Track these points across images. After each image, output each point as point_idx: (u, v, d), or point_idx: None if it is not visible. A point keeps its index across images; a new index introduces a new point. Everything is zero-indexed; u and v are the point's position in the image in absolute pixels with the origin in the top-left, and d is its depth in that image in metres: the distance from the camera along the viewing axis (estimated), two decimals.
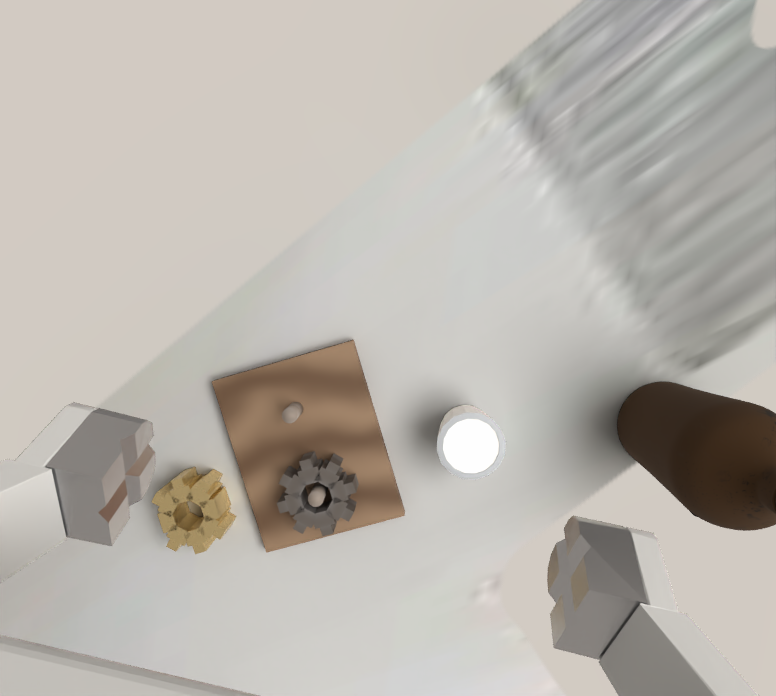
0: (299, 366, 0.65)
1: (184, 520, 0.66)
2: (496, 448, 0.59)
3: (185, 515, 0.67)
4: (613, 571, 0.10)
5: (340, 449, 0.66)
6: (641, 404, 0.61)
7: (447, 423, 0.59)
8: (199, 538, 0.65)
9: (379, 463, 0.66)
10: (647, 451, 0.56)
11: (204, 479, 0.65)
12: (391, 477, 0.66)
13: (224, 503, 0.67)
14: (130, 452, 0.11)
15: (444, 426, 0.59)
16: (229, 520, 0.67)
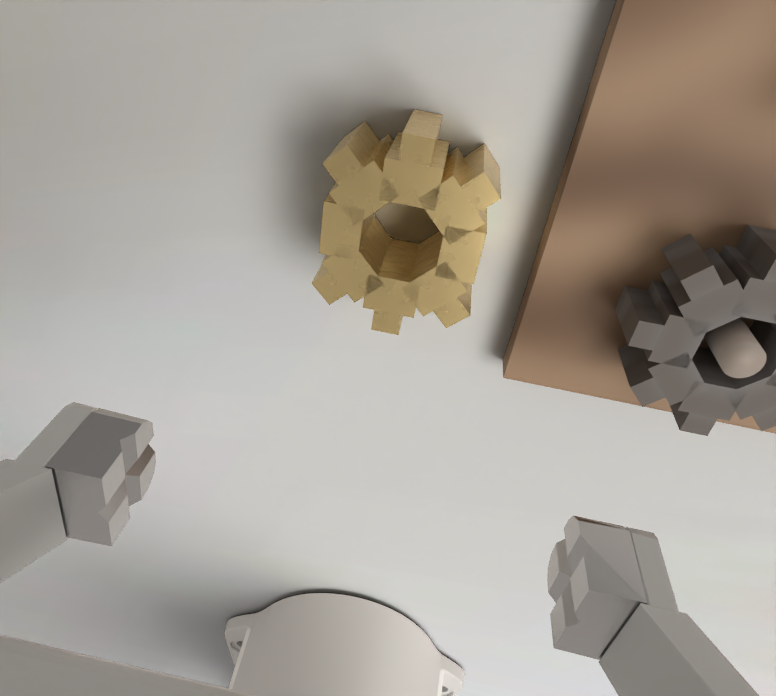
0: None
1: (369, 238, 0.26)
2: None
3: (370, 223, 0.27)
4: (613, 571, 0.10)
5: None
6: None
7: None
8: (399, 303, 0.25)
9: None
10: None
11: (486, 172, 0.22)
12: None
13: None
14: (130, 452, 0.11)
15: None
16: (468, 284, 0.27)
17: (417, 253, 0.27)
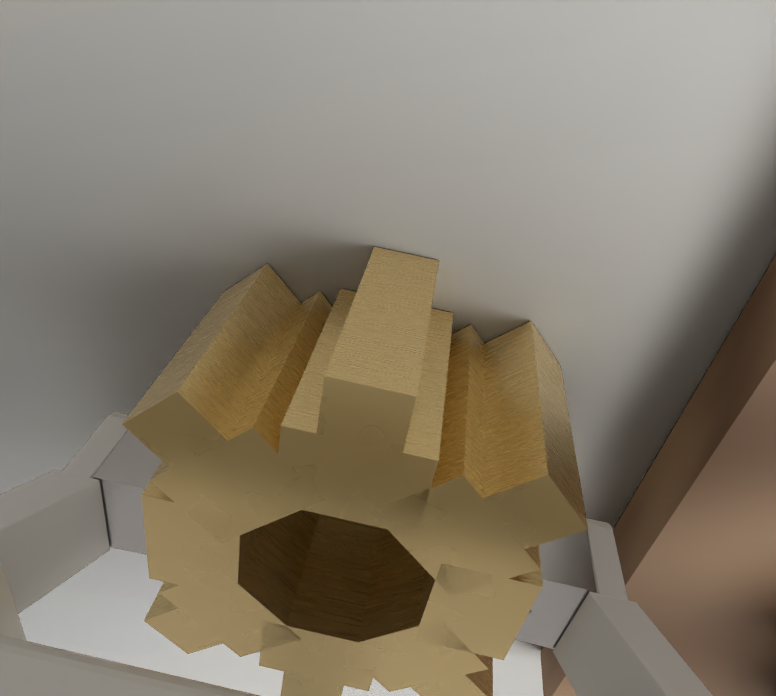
0: None
1: None
2: None
3: None
4: (564, 560, 0.10)
5: None
6: None
7: None
8: (336, 669, 0.12)
9: None
10: None
11: (551, 455, 0.09)
12: None
13: None
14: None
15: None
16: None
17: None
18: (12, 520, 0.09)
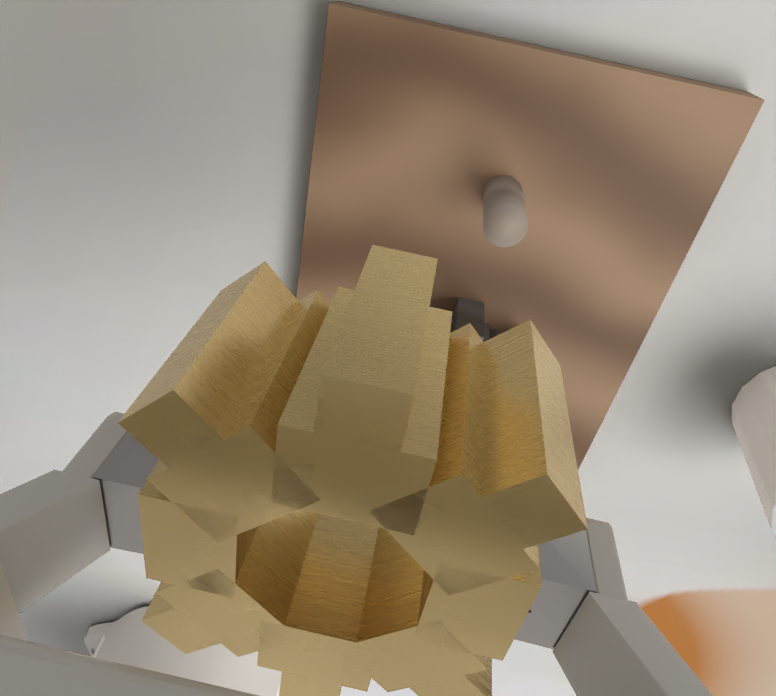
0: (582, 93, 0.22)
1: None
2: None
3: None
4: (564, 560, 0.10)
5: (539, 327, 0.28)
6: None
7: None
8: (334, 669, 0.11)
9: (596, 389, 0.29)
10: None
11: (550, 454, 0.09)
12: (598, 422, 0.30)
13: None
14: None
15: None
16: None
17: None
18: (12, 520, 0.09)
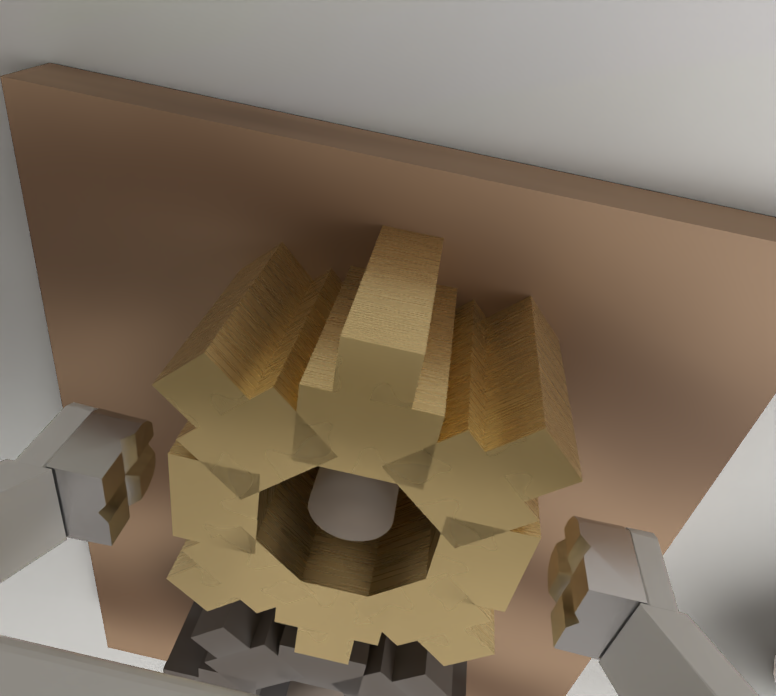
0: (504, 242, 0.11)
1: (290, 478, 0.13)
2: None
3: None
4: (613, 571, 0.10)
5: None
6: None
7: None
8: (347, 624, 0.12)
9: None
10: None
11: (549, 413, 0.09)
12: (567, 686, 0.19)
13: None
14: (130, 452, 0.11)
15: None
16: None
17: None
18: None
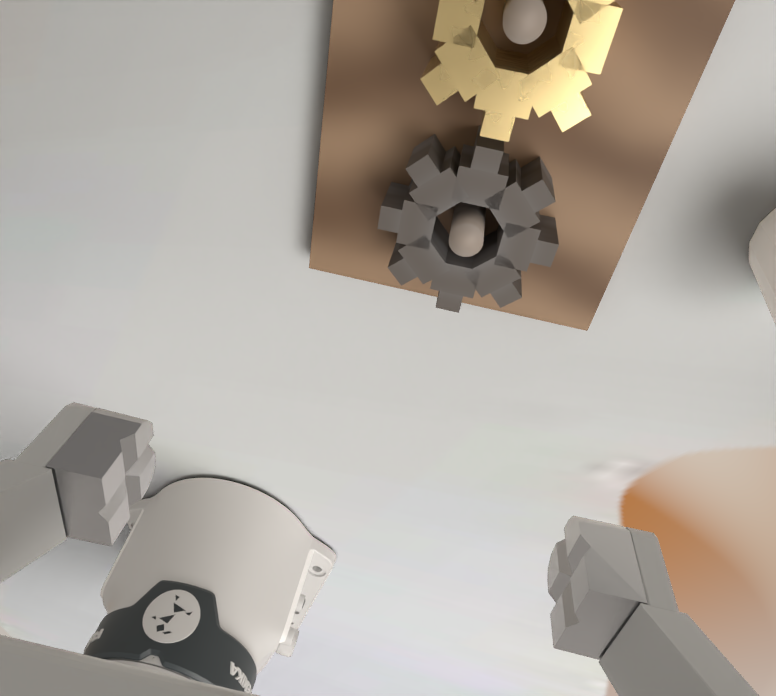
0: None
1: (481, 33, 0.24)
2: None
3: (480, 20, 0.25)
4: (613, 571, 0.10)
5: (558, 155, 0.28)
6: None
7: None
8: (514, 102, 0.24)
9: (613, 223, 0.30)
10: None
11: None
12: (615, 260, 0.31)
13: None
14: (130, 452, 0.11)
15: None
16: (582, 93, 0.25)
17: (528, 58, 0.25)
18: None
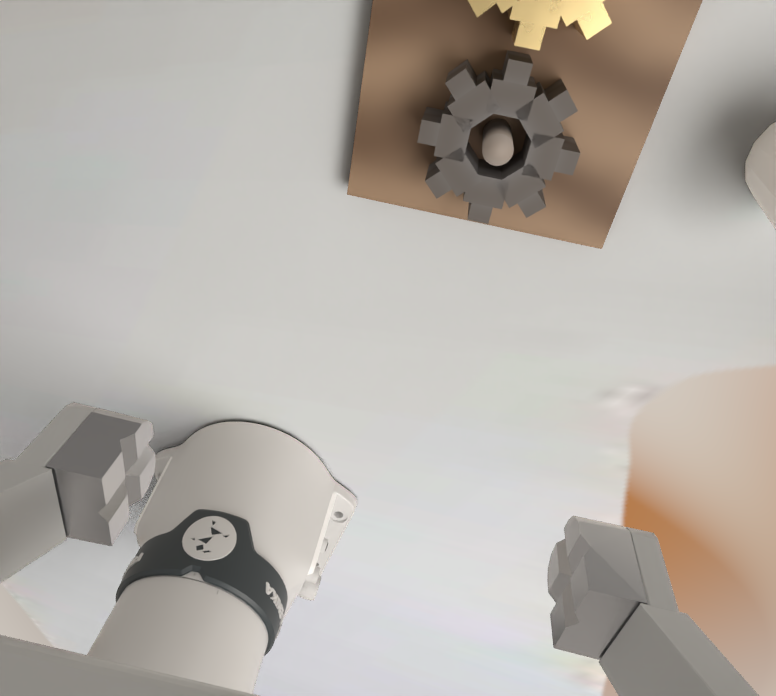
0: None
1: None
2: None
3: None
4: (613, 571, 0.10)
5: (577, 77, 0.32)
6: None
7: None
8: (545, 12, 0.27)
9: (626, 141, 0.33)
10: None
11: None
12: (627, 177, 0.34)
13: None
14: (130, 452, 0.11)
15: None
16: None
17: None
18: None
